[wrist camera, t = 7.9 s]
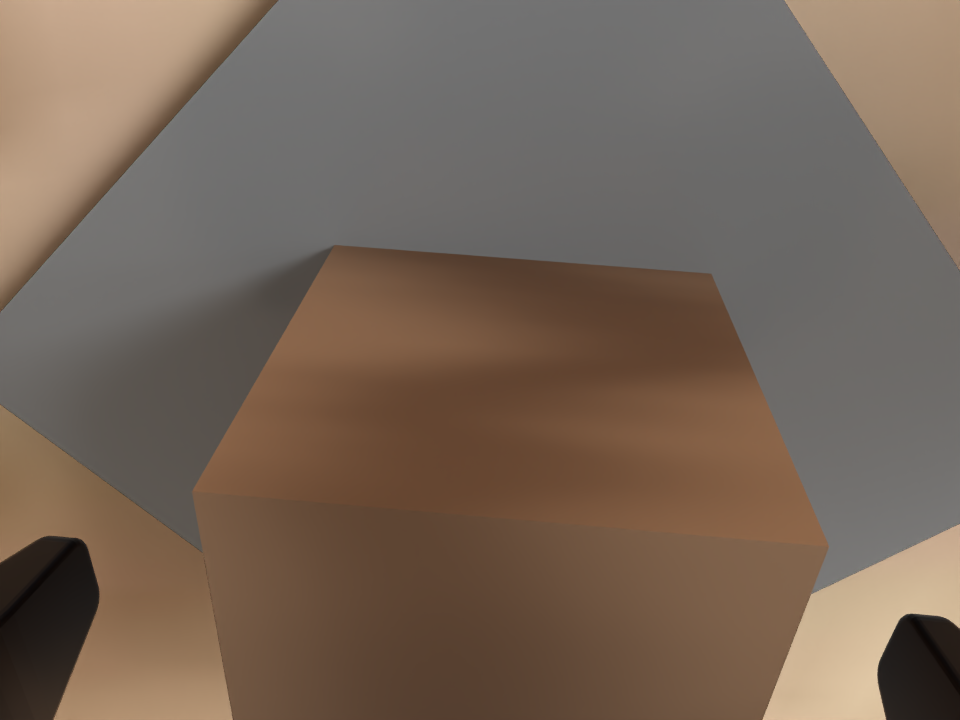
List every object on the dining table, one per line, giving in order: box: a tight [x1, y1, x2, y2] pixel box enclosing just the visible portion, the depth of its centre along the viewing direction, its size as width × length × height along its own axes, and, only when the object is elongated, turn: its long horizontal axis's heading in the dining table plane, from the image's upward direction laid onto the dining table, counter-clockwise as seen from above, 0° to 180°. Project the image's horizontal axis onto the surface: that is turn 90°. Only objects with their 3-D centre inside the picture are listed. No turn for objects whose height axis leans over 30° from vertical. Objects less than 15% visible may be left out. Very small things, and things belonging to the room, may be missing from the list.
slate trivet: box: [0, 0, 960, 594], centre depth 12 cm, size 12×12×1 cm
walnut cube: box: [192, 245, 829, 720], centre depth 10 cm, size 5×5×5 cm
